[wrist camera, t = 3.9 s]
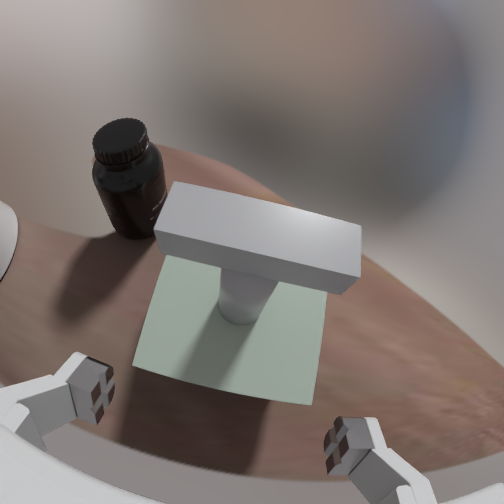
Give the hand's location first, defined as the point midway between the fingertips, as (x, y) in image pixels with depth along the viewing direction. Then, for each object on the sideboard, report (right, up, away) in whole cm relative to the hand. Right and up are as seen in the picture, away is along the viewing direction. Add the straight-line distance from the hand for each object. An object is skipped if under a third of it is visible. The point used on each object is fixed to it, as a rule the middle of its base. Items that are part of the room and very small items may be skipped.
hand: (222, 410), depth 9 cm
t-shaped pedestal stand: (0, +1, +13) cm, 13 cm away
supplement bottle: (-11, +9, +23) cm, 27 cm away
